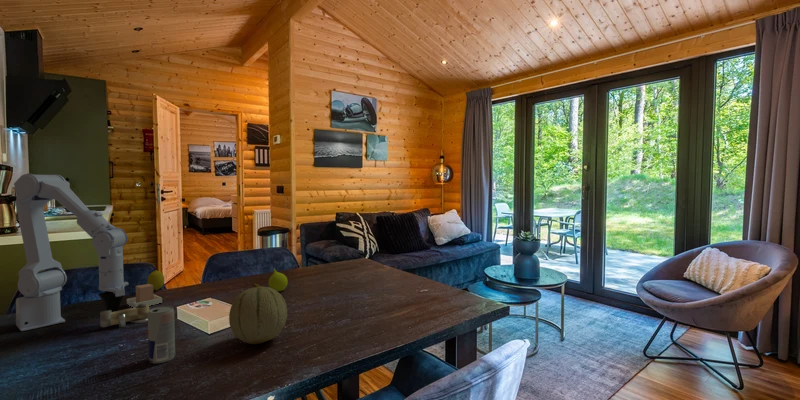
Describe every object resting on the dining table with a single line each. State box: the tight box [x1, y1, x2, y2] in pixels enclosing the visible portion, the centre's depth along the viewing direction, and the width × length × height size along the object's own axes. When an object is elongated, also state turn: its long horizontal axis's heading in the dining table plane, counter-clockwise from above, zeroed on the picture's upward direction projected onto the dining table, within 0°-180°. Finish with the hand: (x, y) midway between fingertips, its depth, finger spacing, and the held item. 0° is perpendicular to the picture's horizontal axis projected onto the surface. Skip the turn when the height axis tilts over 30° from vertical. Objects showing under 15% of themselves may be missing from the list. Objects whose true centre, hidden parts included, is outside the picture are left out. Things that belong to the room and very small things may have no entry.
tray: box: [126, 293, 163, 308], centre depth 130 cm, size 8×8×2 cm
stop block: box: [135, 283, 155, 303], centre depth 130 cm, size 4×4×6 cm
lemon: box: [146, 269, 165, 291], centre depth 146 cm, size 6×6×8 cm
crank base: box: [118, 313, 148, 329], centre depth 114 cm, size 10×6×4 cm, turn 143°
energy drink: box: [147, 305, 176, 364], centre depth 90 cm, size 5×5×12 cm
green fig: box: [267, 267, 289, 293], centre depth 147 cm, size 7×7×10 cm
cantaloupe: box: [228, 283, 288, 345], centre depth 101 cm, size 15×15×15 cm
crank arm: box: [99, 304, 150, 328], centre depth 113 cm, size 12×4×4 cm, turn 141°
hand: (112, 315), depth 112 cm, fingers closed
